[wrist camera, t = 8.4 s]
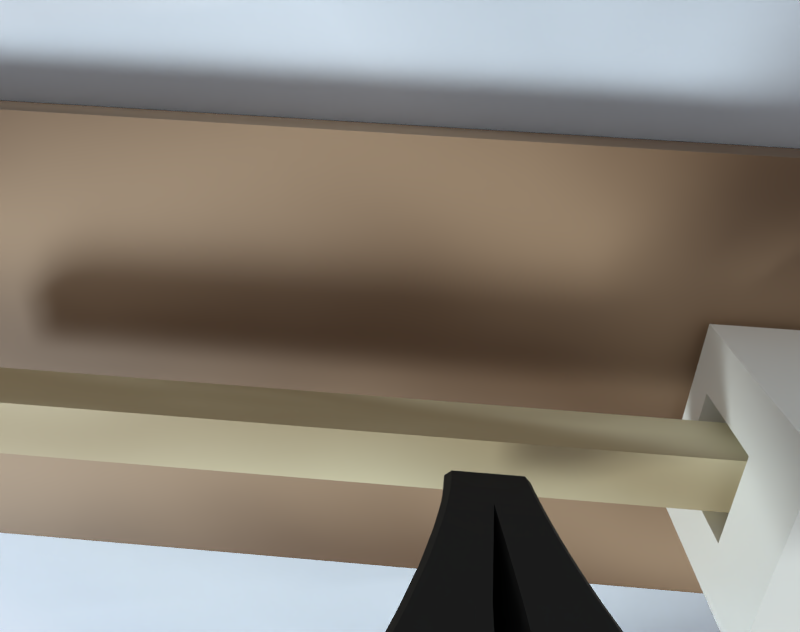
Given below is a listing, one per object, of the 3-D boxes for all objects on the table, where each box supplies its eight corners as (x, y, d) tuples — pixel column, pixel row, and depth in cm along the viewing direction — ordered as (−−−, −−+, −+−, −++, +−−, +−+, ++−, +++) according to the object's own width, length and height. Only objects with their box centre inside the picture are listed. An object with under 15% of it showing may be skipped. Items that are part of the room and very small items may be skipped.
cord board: (1019, 590, 17) (1223, 799, 13) (-80, 497, 18) (-252, 658, 14) (1288, 178, 12) (1773, 277, 8) (-224, 87, 13) (-562, 128, 9)
